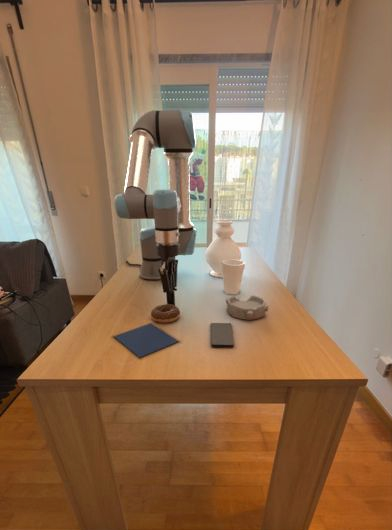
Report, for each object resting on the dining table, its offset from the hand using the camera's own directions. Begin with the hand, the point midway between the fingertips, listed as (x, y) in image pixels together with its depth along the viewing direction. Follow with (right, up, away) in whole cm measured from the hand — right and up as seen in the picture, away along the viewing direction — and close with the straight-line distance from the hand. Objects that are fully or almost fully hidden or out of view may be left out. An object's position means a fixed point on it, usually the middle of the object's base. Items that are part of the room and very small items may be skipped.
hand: (171, 307), depth 107 cm
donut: (-2, -4, -4) cm, 6 cm away
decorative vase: (+23, +23, +40) cm, 52 cm away
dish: (+28, -2, -1) cm, 28 cm away
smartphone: (+18, -11, -15) cm, 26 cm away
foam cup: (+25, +10, +18) cm, 32 cm away
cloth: (-7, -13, -17) cm, 22 cm away
